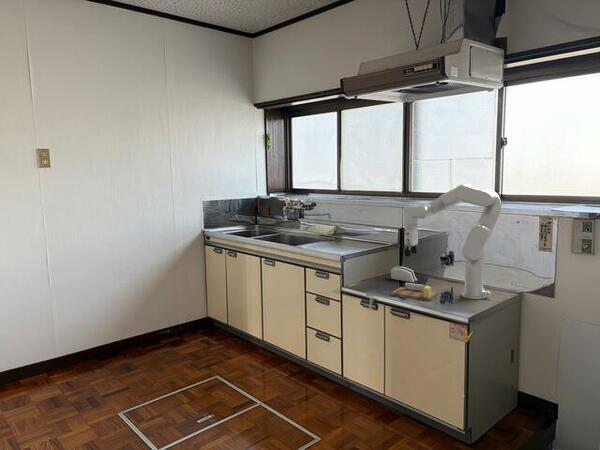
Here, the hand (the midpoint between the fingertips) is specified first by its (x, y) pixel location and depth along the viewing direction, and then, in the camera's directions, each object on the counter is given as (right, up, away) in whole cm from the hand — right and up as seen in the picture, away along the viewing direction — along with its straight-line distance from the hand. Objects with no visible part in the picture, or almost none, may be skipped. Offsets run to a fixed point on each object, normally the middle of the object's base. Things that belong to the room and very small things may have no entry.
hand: (410, 254), depth 272 cm
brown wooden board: (0, -22, -11) cm, 25 cm away
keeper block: (+5, -22, -19) cm, 29 cm away
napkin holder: (0, -18, +22) cm, 28 cm away
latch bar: (+2, -20, -7) cm, 21 cm away
